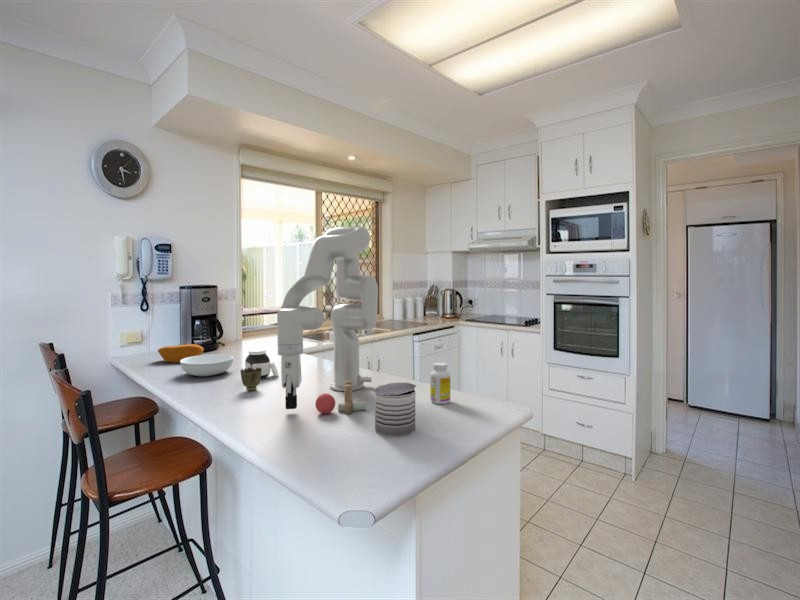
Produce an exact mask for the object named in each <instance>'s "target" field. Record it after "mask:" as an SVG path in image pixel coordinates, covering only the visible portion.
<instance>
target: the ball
mask: <svg viewBox="0 0 800 600" xmlns="http://www.w3.org/2000/svg"><path fill="white" fill-rule="evenodd" d="M335 407H336V399H335V398H334V396H333V395H331V394H330V393H322V394H320V395H319V396H317V398H316V400H315V408H316V411H318V412H319V413H320V414H322V415H323V414H324V415H325V414H329V413H330V414H331V412H332V411H334V409H335Z"/></svg>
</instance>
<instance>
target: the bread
mask: <svg viewBox="0 0 800 600" xmlns="http://www.w3.org/2000/svg"><path fill="white" fill-rule="evenodd" d="M204 350H205V348H204V347H203V346H201V345H199V344H196V343H192V344H190V343H188V344H178V345H170V346H163V347H160V348H158V349H157V352H158V354H159V355H160V357H161V358H162V359H163V360H164V362H166V363H172V364H173V363H174V364H180V360H182V359H184V358H187V357H192V356H199V355H203V353H204Z"/></svg>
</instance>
